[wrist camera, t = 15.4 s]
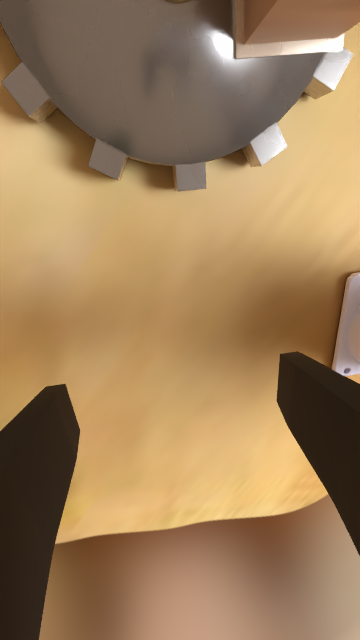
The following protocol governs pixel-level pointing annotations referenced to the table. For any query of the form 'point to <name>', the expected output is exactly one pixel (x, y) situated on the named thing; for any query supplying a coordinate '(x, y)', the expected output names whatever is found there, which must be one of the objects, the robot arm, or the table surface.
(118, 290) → the table surface
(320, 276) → the table surface
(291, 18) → the link block
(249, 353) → the table surface
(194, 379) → the table surface
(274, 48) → the sprocket disc
